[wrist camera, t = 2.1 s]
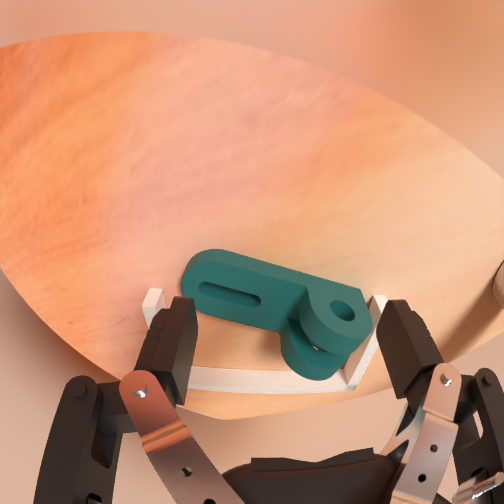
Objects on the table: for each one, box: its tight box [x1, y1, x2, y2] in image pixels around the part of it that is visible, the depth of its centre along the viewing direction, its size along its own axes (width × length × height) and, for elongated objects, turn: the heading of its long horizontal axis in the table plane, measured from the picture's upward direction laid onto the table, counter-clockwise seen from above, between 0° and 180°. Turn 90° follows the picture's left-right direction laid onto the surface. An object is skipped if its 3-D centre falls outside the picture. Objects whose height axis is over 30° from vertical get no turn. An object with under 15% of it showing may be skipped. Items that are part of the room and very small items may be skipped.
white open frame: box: [141, 288, 388, 394], centre depth 32 cm, size 26×16×3 cm, turn 89°
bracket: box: [181, 249, 373, 381], centre depth 26 cm, size 18×7×8 cm, turn 72°
